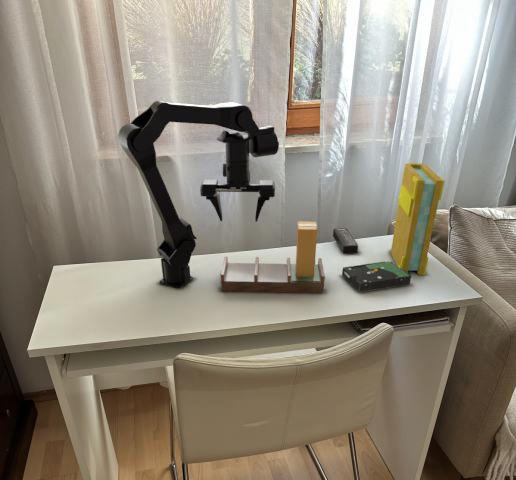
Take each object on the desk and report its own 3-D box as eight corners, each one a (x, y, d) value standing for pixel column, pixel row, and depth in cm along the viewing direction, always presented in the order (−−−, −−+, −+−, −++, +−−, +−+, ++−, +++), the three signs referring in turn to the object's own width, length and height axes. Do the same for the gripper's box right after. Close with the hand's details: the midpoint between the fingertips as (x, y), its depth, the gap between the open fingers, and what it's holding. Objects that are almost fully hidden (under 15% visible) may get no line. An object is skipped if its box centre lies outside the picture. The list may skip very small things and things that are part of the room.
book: (425, 274, 134) (444, 180, 120) (400, 274, 134) (416, 180, 120) (410, 249, 148) (426, 163, 134) (387, 249, 148) (401, 162, 134)
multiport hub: (343, 253, 146) (343, 246, 144) (332, 235, 158) (333, 228, 156) (357, 253, 146) (358, 245, 145) (346, 234, 158) (346, 227, 157)
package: (296, 276, 126) (298, 229, 119) (295, 267, 130) (297, 221, 123) (314, 277, 125) (317, 229, 118) (312, 267, 130) (315, 221, 123)
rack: (221, 291, 125) (220, 274, 123) (225, 273, 135) (224, 256, 132) (323, 293, 125) (324, 276, 122) (320, 274, 134) (321, 258, 131)
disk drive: (359, 294, 125) (410, 284, 129) (360, 284, 123) (412, 275, 127) (341, 276, 133) (389, 268, 137) (341, 267, 132) (391, 259, 135)
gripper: (275, 152, 129) (274, 211, 138) (203, 151, 129) (207, 210, 138) (275, 163, 120) (274, 225, 128) (198, 162, 120) (202, 224, 129)
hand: (238, 220), depth 131 cm, fingers open, 9 cm apart
